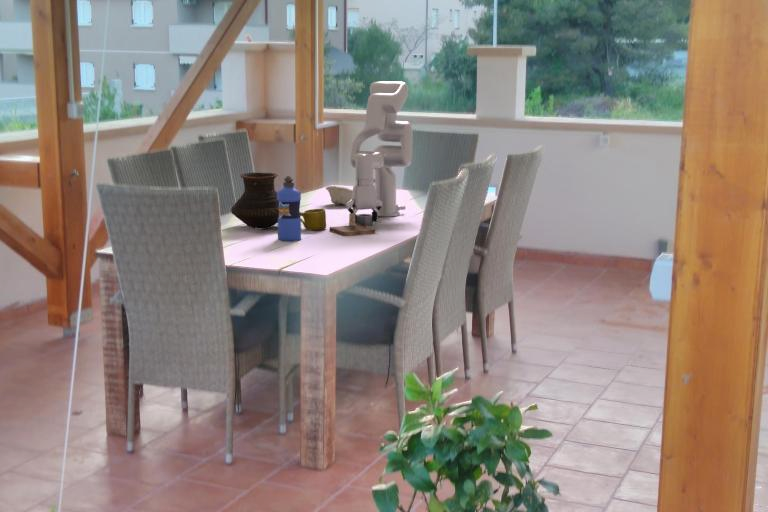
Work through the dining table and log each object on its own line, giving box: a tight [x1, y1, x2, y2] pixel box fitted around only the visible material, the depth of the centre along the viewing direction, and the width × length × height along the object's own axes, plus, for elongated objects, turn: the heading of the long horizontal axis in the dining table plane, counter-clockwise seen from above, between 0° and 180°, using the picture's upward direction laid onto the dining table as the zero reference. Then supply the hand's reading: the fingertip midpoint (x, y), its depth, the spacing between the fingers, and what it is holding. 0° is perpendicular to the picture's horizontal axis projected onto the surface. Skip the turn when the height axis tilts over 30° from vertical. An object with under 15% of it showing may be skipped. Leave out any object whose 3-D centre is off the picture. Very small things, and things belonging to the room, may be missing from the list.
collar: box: [355, 213, 374, 228], centre depth 445 cm, size 7×7×4 cm
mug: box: [300, 208, 327, 232], centre depth 436 cm, size 12×10×10 cm
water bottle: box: [276, 175, 302, 243], centre depth 410 cm, size 9×9×25 cm
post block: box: [329, 213, 376, 237], centre depth 429 cm, size 14×14×8 cm
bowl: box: [325, 185, 353, 206], centre depth 503 cm, size 15×14×10 cm
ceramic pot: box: [230, 171, 279, 229], centre depth 438 cm, size 24×24×22 cm
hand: (364, 222), depth 445 cm, fingers open, 9 cm apart
